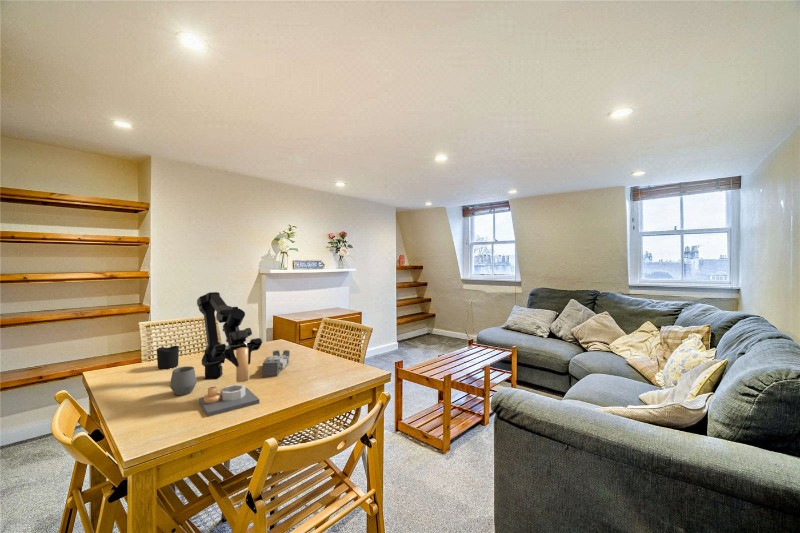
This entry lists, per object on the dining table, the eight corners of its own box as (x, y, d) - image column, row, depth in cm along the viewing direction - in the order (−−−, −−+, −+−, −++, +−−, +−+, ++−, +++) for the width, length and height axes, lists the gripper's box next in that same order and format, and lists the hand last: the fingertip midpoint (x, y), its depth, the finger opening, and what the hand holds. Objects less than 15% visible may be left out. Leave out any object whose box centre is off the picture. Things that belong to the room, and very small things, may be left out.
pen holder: (167, 363, 181) (167, 345, 181) (183, 364, 180) (183, 346, 180) (152, 369, 172) (152, 349, 172) (168, 370, 171) (168, 350, 171)
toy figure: (292, 348, 194) (282, 362, 165) (292, 360, 194) (282, 376, 165) (271, 348, 193) (257, 363, 163) (271, 360, 193) (257, 377, 163)
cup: (172, 390, 146) (172, 367, 146) (198, 387, 149) (198, 364, 149) (167, 398, 137) (167, 374, 137) (194, 395, 141) (194, 371, 140)
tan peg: (233, 381, 138) (233, 349, 138) (242, 377, 142) (242, 346, 142) (242, 382, 137) (242, 350, 136) (250, 379, 141) (250, 347, 140)
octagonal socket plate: (198, 402, 134) (198, 385, 134) (246, 390, 146) (246, 375, 146) (207, 416, 122) (207, 398, 122) (259, 403, 134) (259, 386, 134)
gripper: (214, 325, 135) (224, 358, 127) (260, 319, 148) (272, 349, 141) (207, 341, 140) (216, 374, 133) (252, 334, 154) (263, 364, 147)
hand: (243, 365), depth 138 cm, fingers closed on tan peg, 4 cm apart
